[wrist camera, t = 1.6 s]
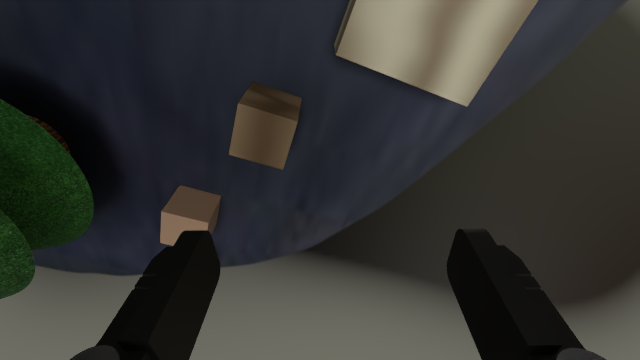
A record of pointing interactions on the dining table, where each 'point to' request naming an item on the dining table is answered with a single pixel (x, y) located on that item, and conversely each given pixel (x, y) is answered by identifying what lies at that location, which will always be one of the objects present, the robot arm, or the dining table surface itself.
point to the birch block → (431, 40)
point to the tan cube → (188, 213)
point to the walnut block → (265, 125)
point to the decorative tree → (36, 195)
